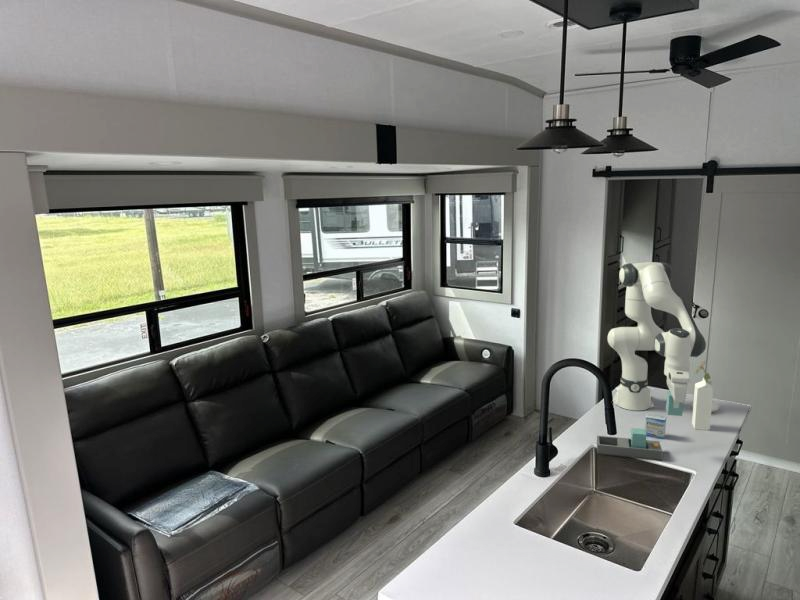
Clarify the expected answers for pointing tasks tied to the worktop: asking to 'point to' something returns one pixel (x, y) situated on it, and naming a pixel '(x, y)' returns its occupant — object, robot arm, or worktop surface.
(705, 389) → the milk
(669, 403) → the teal rectangular block
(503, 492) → the worktop surface
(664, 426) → the medicine box
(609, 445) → the grey sink caddy
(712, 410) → the flower in vase
